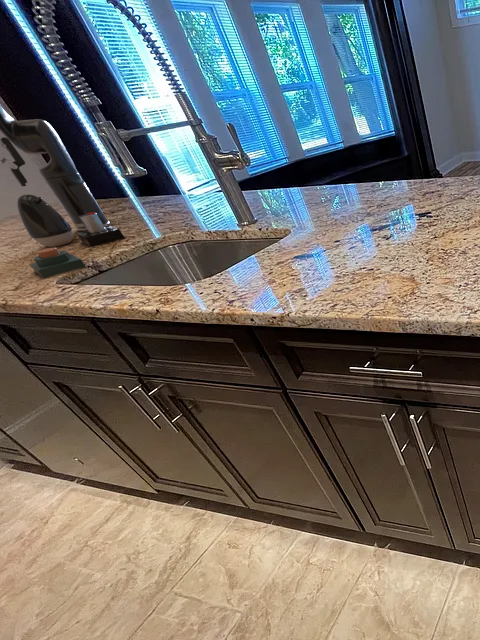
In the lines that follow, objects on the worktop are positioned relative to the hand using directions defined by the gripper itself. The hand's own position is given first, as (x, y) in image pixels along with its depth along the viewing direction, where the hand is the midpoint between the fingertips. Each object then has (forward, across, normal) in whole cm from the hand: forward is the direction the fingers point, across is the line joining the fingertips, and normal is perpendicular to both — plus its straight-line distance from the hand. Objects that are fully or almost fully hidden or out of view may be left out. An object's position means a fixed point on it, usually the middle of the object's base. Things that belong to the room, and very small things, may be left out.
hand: (1, 189), depth 104 cm
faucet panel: (+20, -16, -23) cm, 35 cm away
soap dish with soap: (+20, 0, 0) cm, 20 cm away
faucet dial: (+17, -16, -23) cm, 33 cm away
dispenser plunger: (+17, 0, 0) cm, 17 cm away
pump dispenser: (+20, -7, -34) cm, 40 cm away
